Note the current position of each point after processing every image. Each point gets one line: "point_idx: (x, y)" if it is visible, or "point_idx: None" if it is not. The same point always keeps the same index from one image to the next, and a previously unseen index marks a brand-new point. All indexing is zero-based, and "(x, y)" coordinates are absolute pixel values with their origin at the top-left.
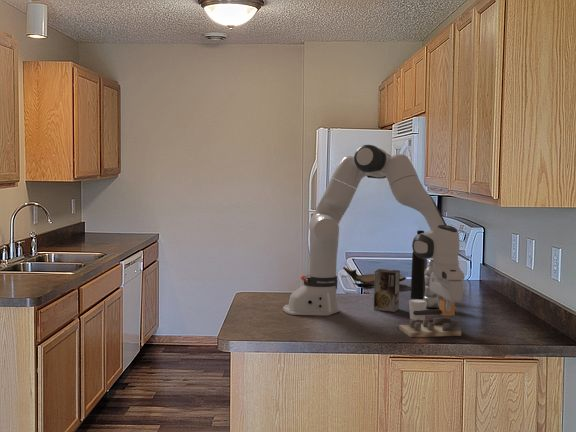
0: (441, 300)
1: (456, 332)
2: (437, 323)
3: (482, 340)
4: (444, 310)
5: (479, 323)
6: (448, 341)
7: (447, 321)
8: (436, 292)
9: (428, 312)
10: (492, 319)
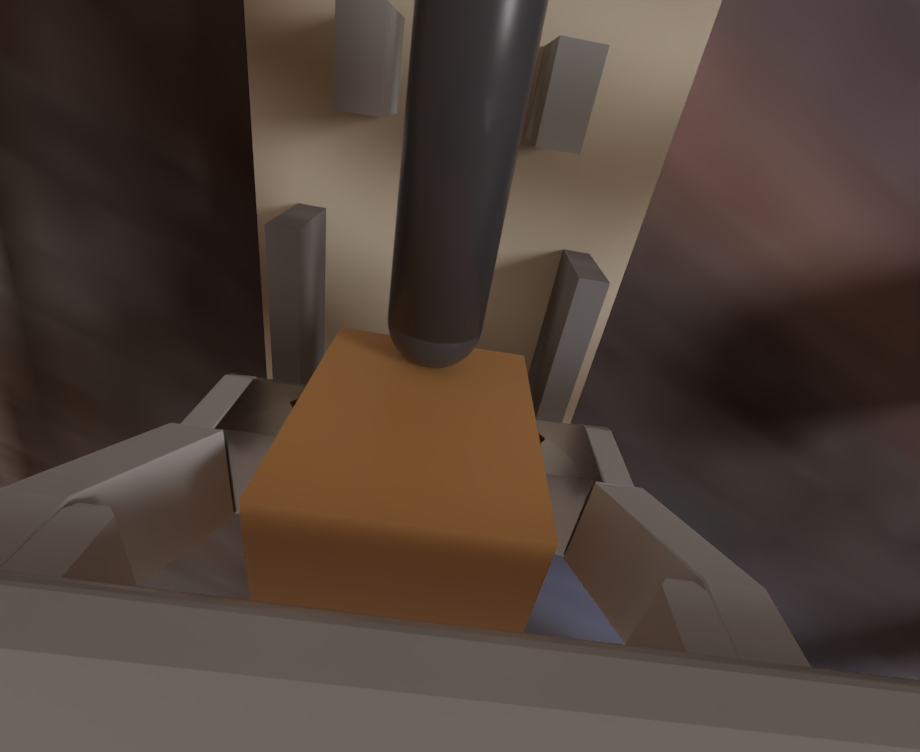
0: (446, 524)
1: (267, 330)
2: (555, 297)
3: (125, 428)
4: (313, 376)
5: (567, 628)
6: (44, 92)
7: None
8: (780, 739)
9: (416, 15)
10: None
